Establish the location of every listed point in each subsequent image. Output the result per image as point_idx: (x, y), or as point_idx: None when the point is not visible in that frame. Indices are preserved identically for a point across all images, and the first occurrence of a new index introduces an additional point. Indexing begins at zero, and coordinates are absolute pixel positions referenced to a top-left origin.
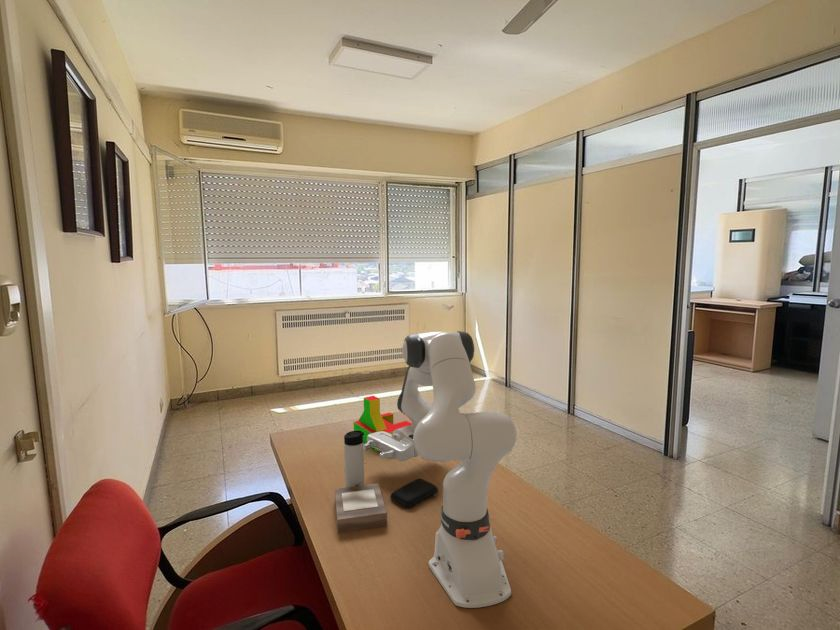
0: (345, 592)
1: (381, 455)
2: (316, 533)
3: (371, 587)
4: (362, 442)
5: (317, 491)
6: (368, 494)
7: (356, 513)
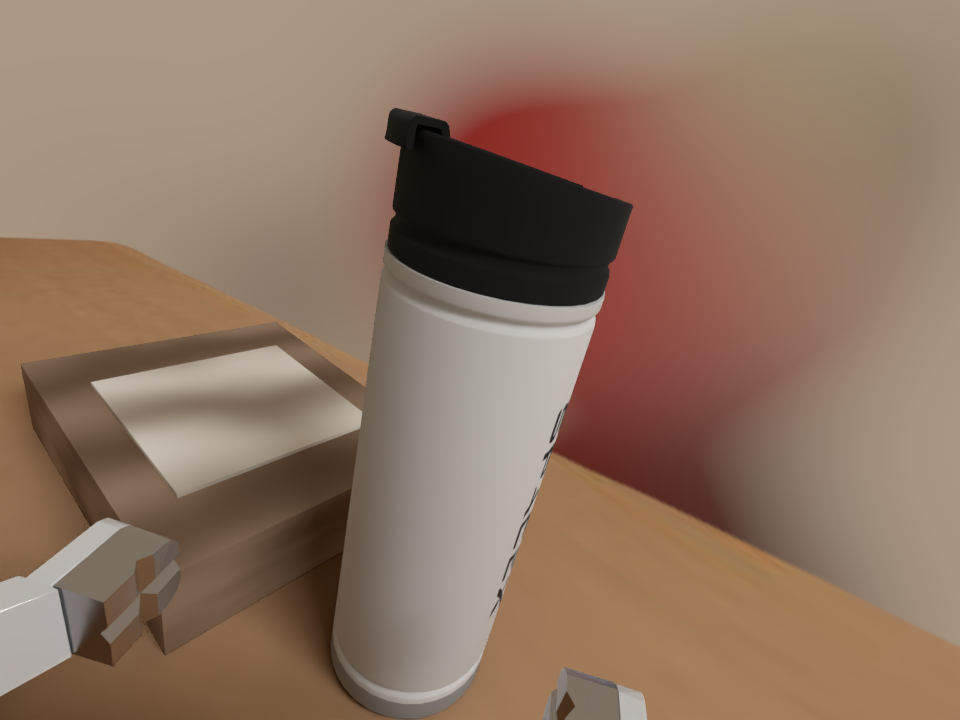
0: (142, 268)
1: (130, 527)
2: (348, 361)
3: (65, 274)
4: (391, 253)
5: (579, 531)
6: (196, 443)
7: (207, 346)
